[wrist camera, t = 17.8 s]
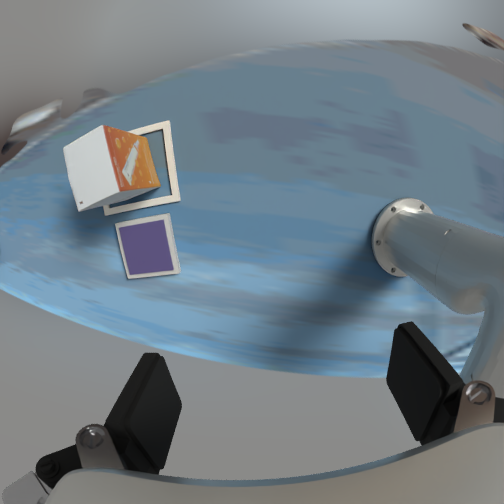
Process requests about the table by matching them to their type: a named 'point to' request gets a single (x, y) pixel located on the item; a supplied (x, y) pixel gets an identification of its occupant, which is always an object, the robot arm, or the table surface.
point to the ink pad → (148, 246)
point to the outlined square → (171, 168)
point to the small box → (109, 167)
